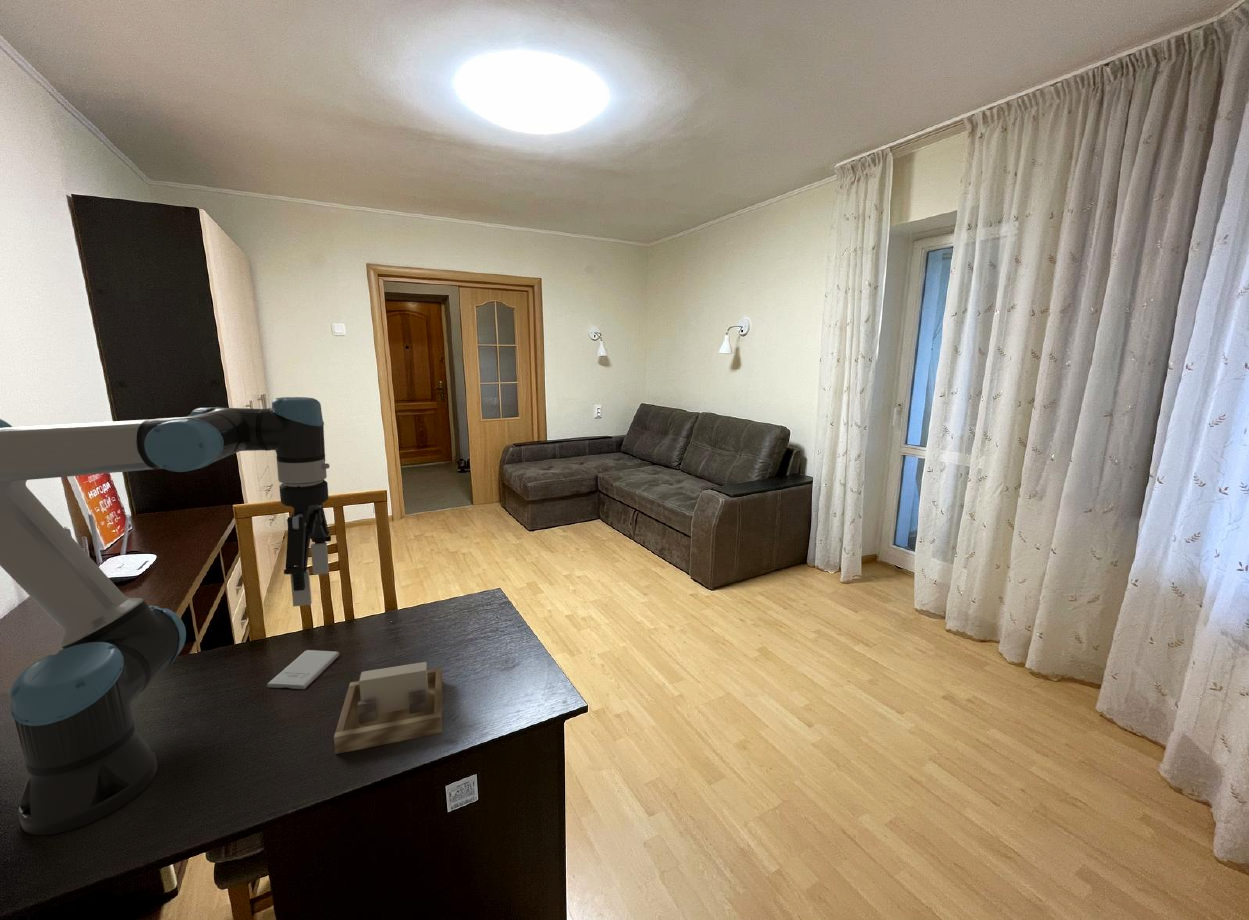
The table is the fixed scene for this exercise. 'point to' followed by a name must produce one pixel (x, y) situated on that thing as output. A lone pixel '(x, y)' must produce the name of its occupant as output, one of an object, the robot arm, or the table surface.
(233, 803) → the table surface
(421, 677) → the beige rectangular block
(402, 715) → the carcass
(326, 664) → the external hard drive
